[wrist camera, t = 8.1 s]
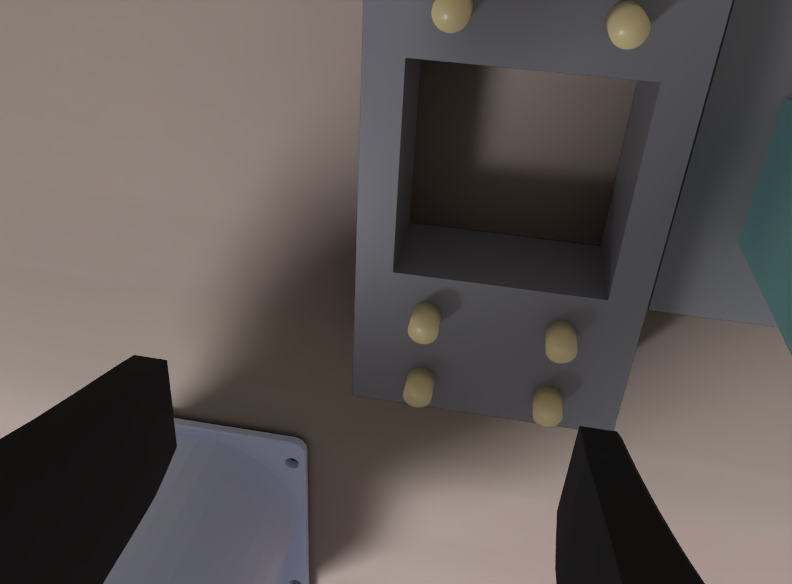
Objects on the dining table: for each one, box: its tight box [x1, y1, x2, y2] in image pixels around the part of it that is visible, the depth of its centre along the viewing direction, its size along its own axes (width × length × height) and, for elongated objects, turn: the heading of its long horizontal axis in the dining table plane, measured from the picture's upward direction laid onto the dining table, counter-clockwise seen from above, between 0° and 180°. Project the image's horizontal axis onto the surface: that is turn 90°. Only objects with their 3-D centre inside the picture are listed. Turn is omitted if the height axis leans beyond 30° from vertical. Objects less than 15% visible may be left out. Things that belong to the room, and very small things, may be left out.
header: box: [352, 0, 733, 431], centre depth 19 cm, size 14×8×4 cm, turn 177°
